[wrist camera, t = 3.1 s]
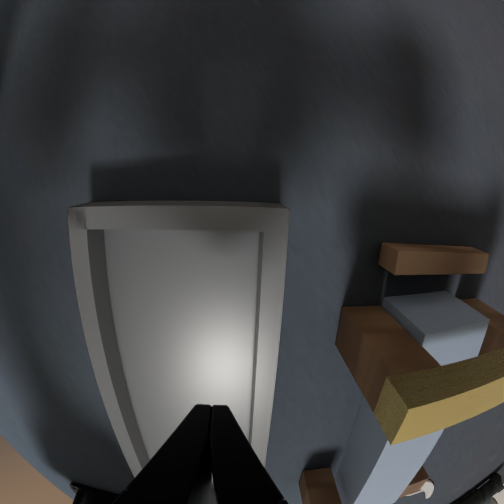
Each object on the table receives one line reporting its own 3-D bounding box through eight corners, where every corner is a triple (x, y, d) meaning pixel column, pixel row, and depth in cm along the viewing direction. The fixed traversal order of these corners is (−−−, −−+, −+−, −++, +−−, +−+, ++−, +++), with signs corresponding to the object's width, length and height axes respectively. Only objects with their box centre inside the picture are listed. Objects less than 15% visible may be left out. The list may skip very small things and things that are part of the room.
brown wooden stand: (298, 483, 16) (310, 538, 11) (350, 240, 12) (419, 283, 7) (403, 461, 17) (426, 505, 12) (486, 247, 12) (553, 275, 7)
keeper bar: (371, 415, 8) (401, 472, 5) (387, 372, 7) (428, 430, 5) (533, 361, 8) (561, 385, 6) (546, 329, 8) (578, 351, 5)
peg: (333, 478, 17) (345, 517, 13) (381, 294, 13) (425, 334, 9) (378, 467, 17) (394, 502, 13) (442, 288, 13) (489, 319, 9)
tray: (151, 482, 16) (147, 502, 14) (91, 202, 11) (67, 207, 9) (256, 488, 16) (258, 509, 14) (280, 203, 11) (289, 208, 9)
